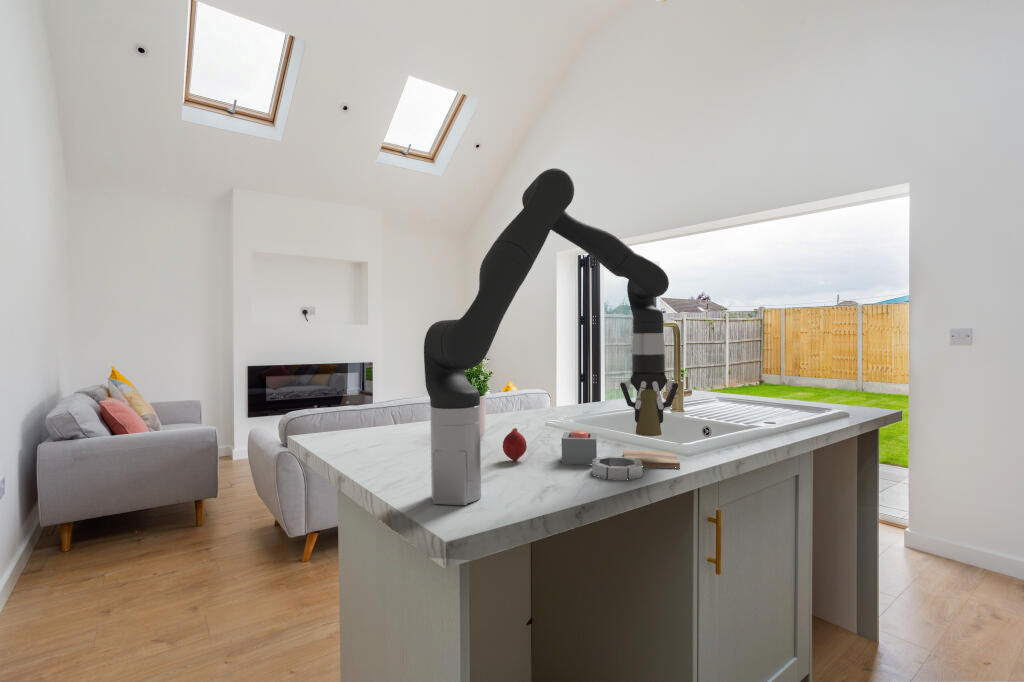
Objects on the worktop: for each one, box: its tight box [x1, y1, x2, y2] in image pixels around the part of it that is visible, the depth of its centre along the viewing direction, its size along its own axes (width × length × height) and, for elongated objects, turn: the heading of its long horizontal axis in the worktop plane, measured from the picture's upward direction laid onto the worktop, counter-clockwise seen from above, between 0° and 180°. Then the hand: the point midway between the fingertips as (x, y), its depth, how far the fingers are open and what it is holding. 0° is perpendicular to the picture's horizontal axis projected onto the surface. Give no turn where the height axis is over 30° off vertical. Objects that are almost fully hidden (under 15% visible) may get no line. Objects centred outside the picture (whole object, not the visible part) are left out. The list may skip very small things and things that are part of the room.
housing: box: [561, 431, 598, 465], centre depth 121 cm, size 8×8×6 cm
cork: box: [635, 388, 663, 437], centre depth 120 cm, size 6×6×11 cm
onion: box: [502, 427, 528, 462], centre depth 122 cm, size 6×6×8 cm
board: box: [622, 449, 681, 469], centre depth 120 cm, size 12×12×1 cm
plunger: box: [570, 430, 589, 438], centre depth 121 cm, size 4×4×6 cm
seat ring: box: [591, 455, 644, 481], centre depth 110 cm, size 10×10×2 cm
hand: (648, 424), depth 120 cm, fingers closed on cork, 3 cm apart
